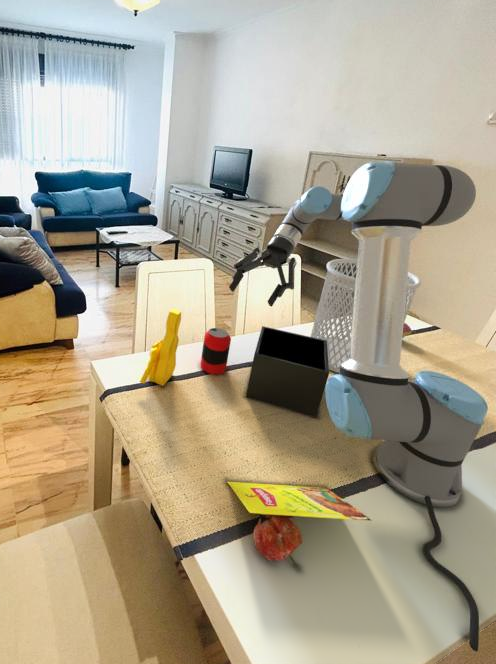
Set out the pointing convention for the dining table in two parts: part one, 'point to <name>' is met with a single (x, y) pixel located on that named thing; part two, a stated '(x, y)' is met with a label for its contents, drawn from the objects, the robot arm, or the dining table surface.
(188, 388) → the dining table surface
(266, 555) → the pomegranate
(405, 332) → the cupcake
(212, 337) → the soda can
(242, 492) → the food package
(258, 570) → the dining table surface
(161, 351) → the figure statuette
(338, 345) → the wastebasket
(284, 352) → the bin
